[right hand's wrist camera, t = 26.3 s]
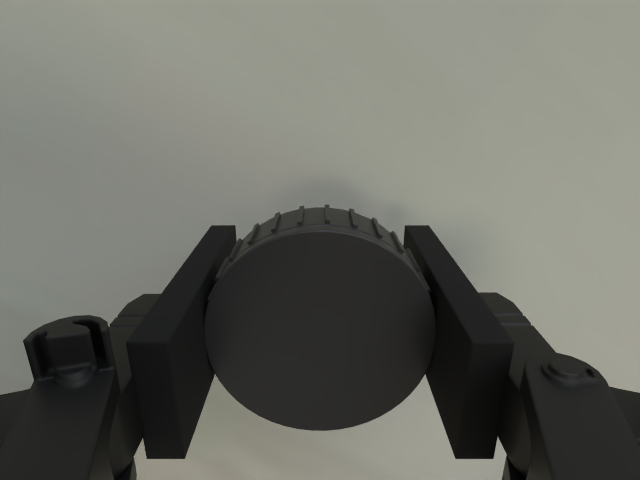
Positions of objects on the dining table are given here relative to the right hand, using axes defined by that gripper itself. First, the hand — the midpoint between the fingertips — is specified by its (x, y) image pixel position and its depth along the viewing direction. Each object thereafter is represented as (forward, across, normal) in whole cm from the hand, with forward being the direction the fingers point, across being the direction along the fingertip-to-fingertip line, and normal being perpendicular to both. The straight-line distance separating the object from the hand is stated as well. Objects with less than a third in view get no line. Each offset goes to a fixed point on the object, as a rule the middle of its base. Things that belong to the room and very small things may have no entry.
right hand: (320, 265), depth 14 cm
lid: (-4, 0, 0) cm, 4 cm away
